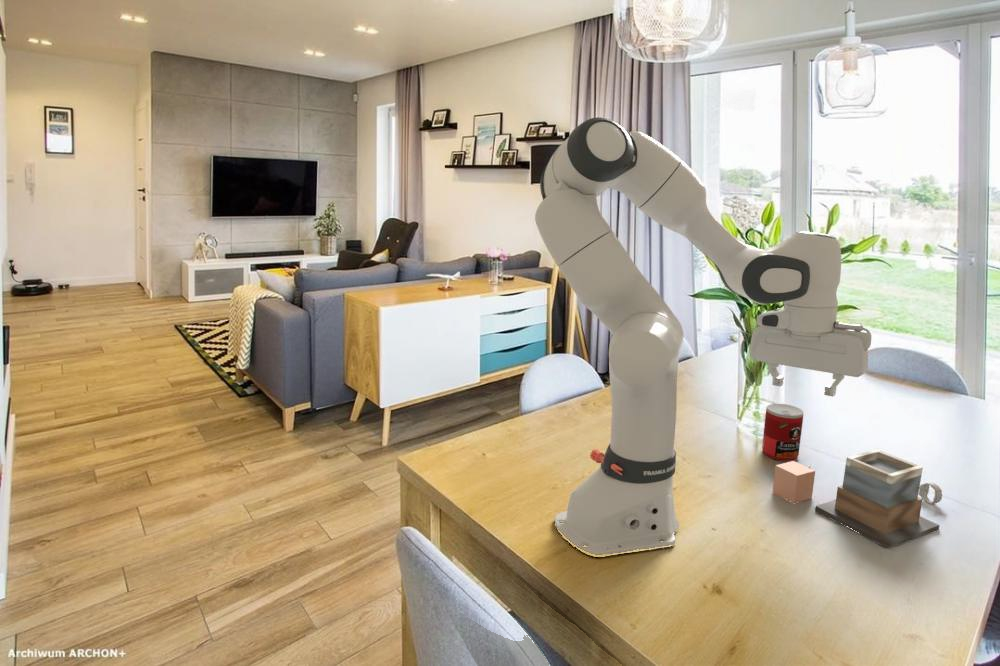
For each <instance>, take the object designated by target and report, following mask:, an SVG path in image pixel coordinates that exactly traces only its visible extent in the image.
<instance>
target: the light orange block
mask: <svg viewBox="0 0 1000 666" xmlns="http://www.w3.org/2000/svg"><path fill="white" fill-rule="evenodd" d="M815 476H816V470H814V469H813V468H810V467H807V466H806V465H804V464H801V463H799V462H797V461H796V460H793V461H786V462H783V463H779V464H776V465H775V468H774V477H773V478H774V479H773V485H772V493H773V494H774V495H776V496H778V495H779V496H778V497H780V496H781V497H783V498H785V499H787V500H788V502H789V501H791V502H792V503H791V502H790V503H791V504H793V503H796V504H798V503H797V502H799V503H802V502H805V501H804V500H806V501H809V500H812V499H813V492H814V485H815V483H814V482H815ZM781 497H780V498H781ZM783 498H782V499H783ZM811 498H812V499H811ZM785 499H784V500H785ZM808 499H809V500H808ZM787 500H786V501H787ZM801 501H802V502H801Z"/></svg>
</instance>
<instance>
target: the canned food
mask: <svg viewBox="0 0 1000 666" xmlns="http://www.w3.org/2000/svg"><path fill="white" fill-rule="evenodd" d="M764 417H765V418H764V427H763V434H762V435H763V437H762V446H761V448H762V453H763V454H764V455H765V456H766V457H768V458H770V459H771V460H772V459H773V460H775V461H776V460H777V461H781V462H791V461H796V460H797V459H798V456H799V455H800V445H801V440H802V439H801V437H802V430H803V429H802V428H803V422H804V410H802V409H801V408H799V407H797V406H793V405H790V404H785V403H771V404H768V405H767V406H766V409H765V416H764Z"/></svg>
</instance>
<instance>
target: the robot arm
mask: <svg viewBox="0 0 1000 666" xmlns="http://www.w3.org/2000/svg"><path fill="white" fill-rule="evenodd" d="M539 188H540V194H541V197H542V201H541V202H540V203H539V205H538V207H537V209H536V212H535V216H534V220H535V221H534V222H535V224H536V226H537V229H538V232H539V235H540V237H541V239H542V241H543V243H544V245H545V248H546V249H547V251H548V252H549V254H550V256H551V258H552V260H553V261H554V262H555V264H556V266H557V267H558V269H559V271H560V272H561V274H562V275H563V277H564V279H565V280H566V281H567V283H568V285H569V286H570V287H571V290H573V292H574V293H575V295H576V296H577V297H576V298H577V299H578V300H579V301H580V303H581V304H582V306H584V307H585V308H586V309H588V310H589V311H590V312H591V313H592V314H593V315H594V316H595V317H597V319H598V320H599V321H600V322H601V323H602V324H603V325H604V326H605V328H607V330H608V331H609V332H610V333H611V335H612V337H611V339H610V341H609V346H608V347H609V348H608V366H609V369H608V370H609V387H610V395H611V396H610V397H611V417H610V419H611V420H610V421H611V423H610V442H609V444H608V446H607V448H606V451H605V453H603V452H601V451H600V450H599V449H596V448H594V449H593V450H591V452H590V455H589V458H590V459H591V460H592V461H594V462H595V463H597V464H600V467H599V468H598V469H596V470H595V471H594V472H593V473H592V474H591V475H590V476H589V477H588V478H587V479H585V480H584V481H583V482H582V483H581V484H580V485H579V486H578V487H576V488H574V490H573V491H572V492H571V493H570V496H569V499H568V504H567V510H564V511H561V512H559V513H557V514H555V517H554V521H555V524H556V527H557V528H558V530H559V531H560V532H561V533H562V534H563V535H564V536H565V537H566V538H567V539H568V540H569V541H570V542H572V543H573V544H574V545H576V546H577V547H578V548H580V549H582V550H584V551H586V552H589V553H591V554H595V555H603V554H605V555H606V554H613V553H621V552H627V551H633V550H637V549H639V550H640V549H649V548H655V547H662V546H669V545H674V544H675V545H676V536H675V535H674V534H676V533H677V532H676V530H677V528H678V529H679V522H678V518H677V515H676V509H675V501H674V485H673V484H674V482H673V481H674V480H673V478H674V475H675V473H676V467H677V466H676V462H677V461H676V458H677V453H676V450H675V440H676V437H675V436H676V425H677V400H678V399H677V398H678V397H677V395H678V393H677V392H678V371H679V369H678V368H679V359H680V354H681V350H682V346H683V342H684V330H683V327H682V324H681V322H680V320H679V319H678V318H677V316H676V315H675V314H674V312H673V311H672V310H671V308H670V307H669V305H668V304H667V303H666V302H665V300H664V299H663V298H662V296H661V295H660V294H659V293H658V291H657V290H656V289H655V288H654V286H652V284H651V283H650V282H649V280H647V278H646V277H645V276H644V275H643V273H642V272H641V271H640V270H639V268H638V266H637V265H636V264H635V263H634V261H633V260H632V258H631V256H630V255H629V253H628V252H627V250H626V249H625V247H624V246H623V244H622V243H621V241H620V240H619V238H618V237H617V235H616V234H615V232H614V231H613V229H612V228H611V226H610V225H609V223H608V222H607V221H606V219H605V218H604V217H603V215H602V214H601V212H600V210H599V209H600V208H599V206H598V201H597V198H598V196H600V195H602V194H603V193H604V192H606V190H607V189H610V190H611V189H612V190H615V191H617V192H620V193H621V194H623V195H624V196H625V197H626V198H627V199H628V200H629V201H630V203H632V204H633V205H635V207H636V208H638V209H639V210H640V211H641V212H642V213H643V214H645V215H646V216H647V217H648V218H651V219H652V220H653V221H654V222H656V223H657V224H660V225H661V226H663V227H664V228H666V229H668V230H671V231H673V232H674V233H677V234H680V236H682V237H684V238H685V239H687V240H688V241H689V242H690V243H691V244H692V245H693V246H694V247H695V248H697V249H698V250H699V251H700V252H701V253H702V254H703V255H704V256H706V258H708V259H709V261H711V262H712V263H713V264H714V266H715V268H716V269H717V272H718V275H719V277H720V280H721V282H722V283H723V285H724V286H725V287H726V290H728V291H729V292H731V293H733V294H735V295H737V296H739V297H740V296H741V297H744V298H745V299H747V300H750V301H751V302H754V303H756V304H761V305H768V304H769V305H770V304H776V303H781V302H782V303H783V302H784V303H783V304H784V305H783V308H781V307H779V308H777V309H773V310H768V311H765V312H762V313H761V314H758V315H757V317H756V324H757V325H758V326H757V327H756V328H754V329H753V332H752V334H751V338H750V343H749V356H750V358H751V360H753V361H757V362H762V363H767V369H768V371H769V373H770V375H771V377H772V386H775V387H783V385H784V378H785V376H783V375H780V372H779V371H778V369H777V368H779V366H786V367H793V368H798V369H805V370H809V371H810V370H811V371H817V372H821V373H822V372H823V373H829V374H832V380H833V383H832V384H826V385H825V386H824V393H823V394H824V396H827V397H832V398H833V397H835V396H836V393H837V386H839V385H840V383H841V382H842V381H843V380H844V379H845V376H847V377H853V378H859V377H861V376H863V375H865V373H867V371H868V370H869V369H868V368H869V367H868V366H869V352H868V351H869V350H868V349H869V348H870V347H871V344H872V333H871V332H870V330H869V329H868V328H865V327H864V326H863V325H861V324H849V323H846V322H844V323H843V322H838V321H837V317H838V306H839V305H838V301H839V300H838V298H837V297H838V296H837V292H838V287H839V285H840V282H841V276H842V275H841V274H842V249H841V244H840V241H839V240H838V239H837V237H835V236H833V235H831V234H826V233H822V232H821V233H820V232H815V231H814V232H813V231H806V230H799V231H795V232H794V233H793V234H792V235H791V236H790V237H788V238H786V239H785V240H783V241H782V242H779V243H777V244H775V245H772V246H771V247H767V248H765V249H762V248H760V247H757V246H755V245H751V244H747V243H745V242H742V241H740V240H739V239H738V238H737V237H735V236H734V235H733V234H732V233H731V232H730V231H729V230H728V229H727V228H726V227H725V226H724V225H722V223H720V221H719V220H717V219H716V218H715V217H714V216H713V215H712V212H710V210H709V208H708V204H707V189H706V186H705V185H704V184H703V182H702V181H701V180H700V178H699V177H698V176H697V174H696V173H695V172H694V171H693V169H691V168H690V167H689V165H687V164H686V163H685V162H684V161H683V160H682V159H681V158H680V157H679V156H677V155H676V154H675V153H674V152H672V151H671V150H670V149H668V147H666V146H664V145H663V144H661V143H660V142H659V141H657V140H656V139H654V138H653V137H651V136H649V135H648V134H646V133H644V132H642V131H636V130H635V131H633V130H632V131H628V130H627V129H626V128H624V127H623V126H622V125H620V124H619V123H617V122H616V121H613V120H611V119H608V118H605V117H600V116H599V117H591V118H589V119H587V120H585V121H583V122H582V123H579V125H577V126H575V128H574V129H573V130H572V131H571V133H570V134H569V136H568V137H567V138H566V139H565V140H564V141H563V143H561V144H560V145H558V147H557V148H556V149H555V151H554V152H553V154H552V156H551V157H550V158H549V161H548V162H547V164H546V165H545V166H544V168H543V171H542V173H541V177H540V183H539ZM559 523H563V524H559ZM555 524H554V525H555ZM677 531H678V530H677ZM675 532H676V533H675ZM661 541H663V542H661ZM584 545H586V546H588V547H583V546H584Z"/></svg>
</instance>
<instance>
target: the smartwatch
mask: <svg viewBox="0 0 1000 666" xmlns="http://www.w3.org/2000/svg"><path fill="white" fill-rule="evenodd" d="M930 487H931V488H932V489H933V490H934V497H933V500H931V499H929V497H928V495H929V491H930ZM918 496H920V498H921V499H923V500H922V501H924V502H925V503H927V504H929V505H935V504H937V503H940V502H941V501H942V498H943V490H942V489H941V487H940V485H938V484H936V483H935V482H925V483H923V484H920V487H919V493H918Z"/></svg>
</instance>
